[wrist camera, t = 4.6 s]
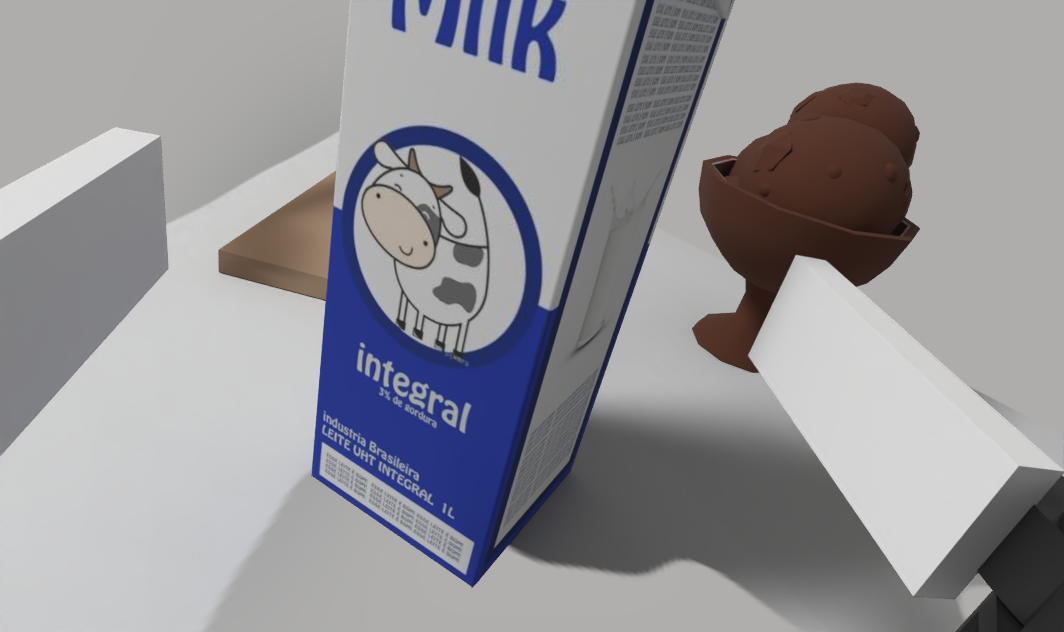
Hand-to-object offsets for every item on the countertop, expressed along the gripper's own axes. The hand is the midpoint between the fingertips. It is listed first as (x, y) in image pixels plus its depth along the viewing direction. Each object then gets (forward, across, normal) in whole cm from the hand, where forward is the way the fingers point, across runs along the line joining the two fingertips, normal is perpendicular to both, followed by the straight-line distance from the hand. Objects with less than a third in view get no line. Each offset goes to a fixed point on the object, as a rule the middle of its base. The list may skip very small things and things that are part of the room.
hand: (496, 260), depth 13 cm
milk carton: (+5, +1, -11) cm, 12 cm away
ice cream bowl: (+18, +18, -11) cm, 27 cm away
